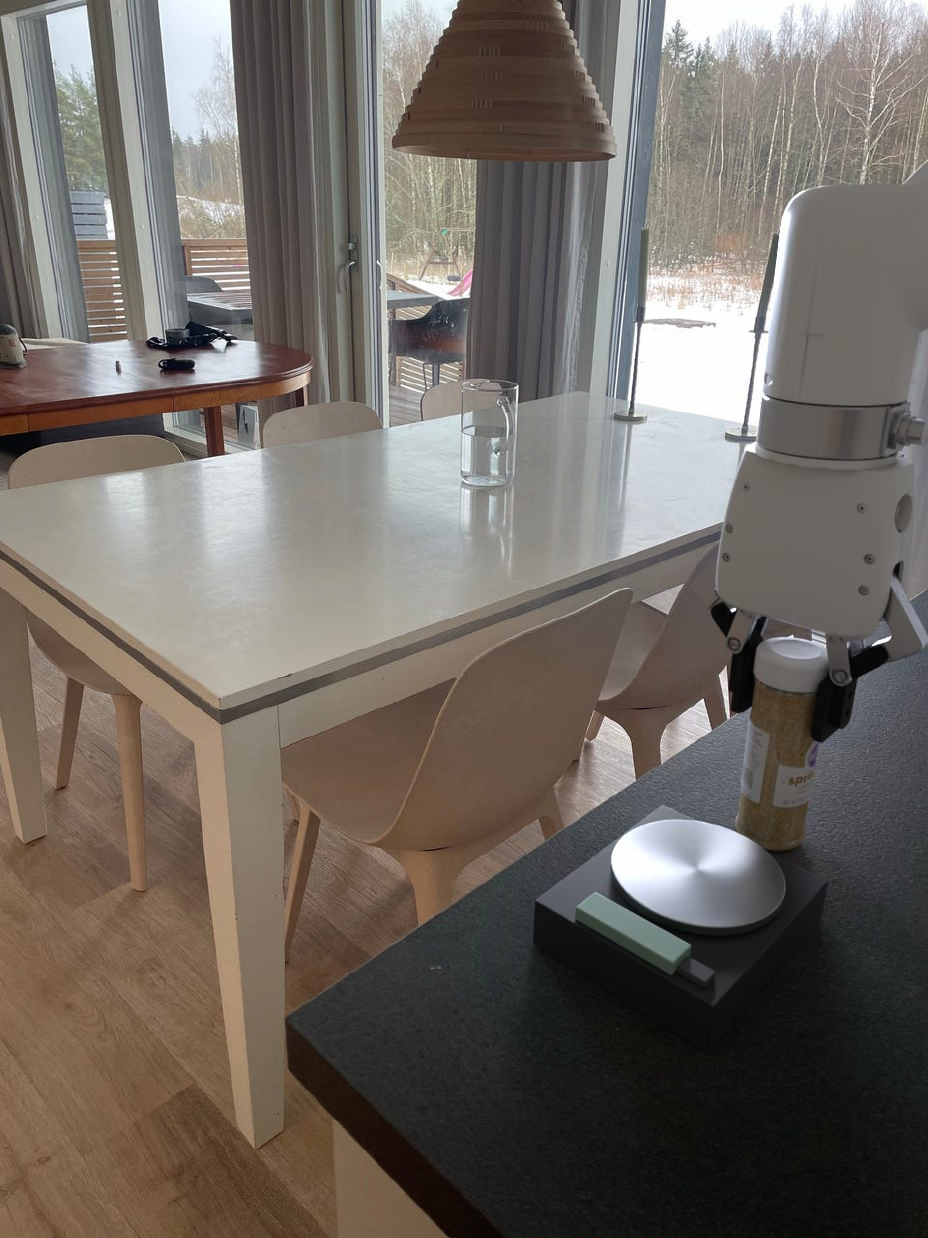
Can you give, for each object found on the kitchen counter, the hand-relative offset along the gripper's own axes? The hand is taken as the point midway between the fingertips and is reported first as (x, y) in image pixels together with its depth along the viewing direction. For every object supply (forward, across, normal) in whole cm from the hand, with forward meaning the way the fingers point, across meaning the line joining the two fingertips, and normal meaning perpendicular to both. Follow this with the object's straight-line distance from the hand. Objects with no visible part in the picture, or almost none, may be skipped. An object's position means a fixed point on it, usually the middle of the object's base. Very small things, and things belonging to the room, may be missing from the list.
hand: (785, 716), depth 58 cm
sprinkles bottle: (+9, 0, 0) cm, 9 cm away
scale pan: (+6, -1, +11) cm, 13 cm away
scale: (+9, -1, +12) cm, 15 cm away
